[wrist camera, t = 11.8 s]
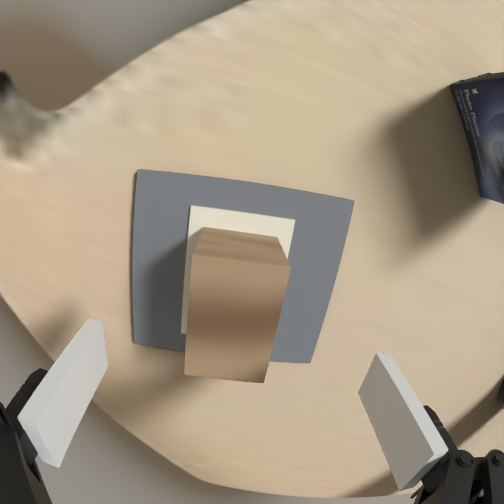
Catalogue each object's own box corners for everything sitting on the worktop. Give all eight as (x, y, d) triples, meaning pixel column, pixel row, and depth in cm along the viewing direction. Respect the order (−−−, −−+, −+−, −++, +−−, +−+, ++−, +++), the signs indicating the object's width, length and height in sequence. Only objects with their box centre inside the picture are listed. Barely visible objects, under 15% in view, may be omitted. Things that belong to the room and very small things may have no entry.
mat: (351, 200, 21) (355, 201, 20) (308, 359, 25) (310, 364, 25) (139, 169, 19) (136, 170, 19) (135, 340, 24) (133, 344, 23)
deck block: (257, 335, 23) (263, 382, 18) (193, 327, 23) (184, 374, 17) (277, 236, 21) (291, 267, 15) (203, 226, 20) (192, 254, 15)
